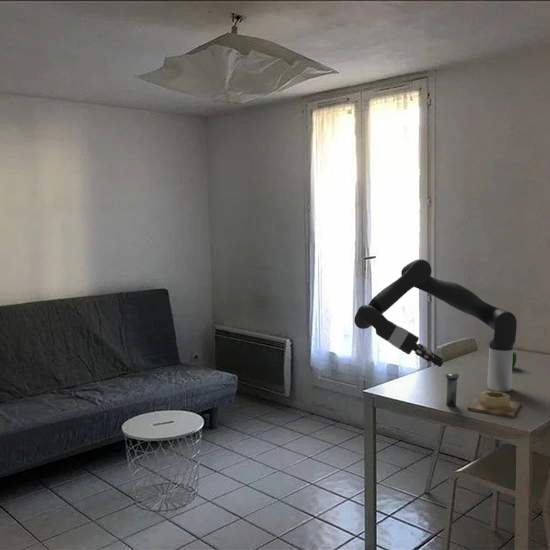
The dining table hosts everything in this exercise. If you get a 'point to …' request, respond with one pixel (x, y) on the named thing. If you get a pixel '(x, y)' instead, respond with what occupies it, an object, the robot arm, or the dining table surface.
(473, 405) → the nut base
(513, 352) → the bell pepper
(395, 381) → the dining table surface
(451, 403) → the steel pin
